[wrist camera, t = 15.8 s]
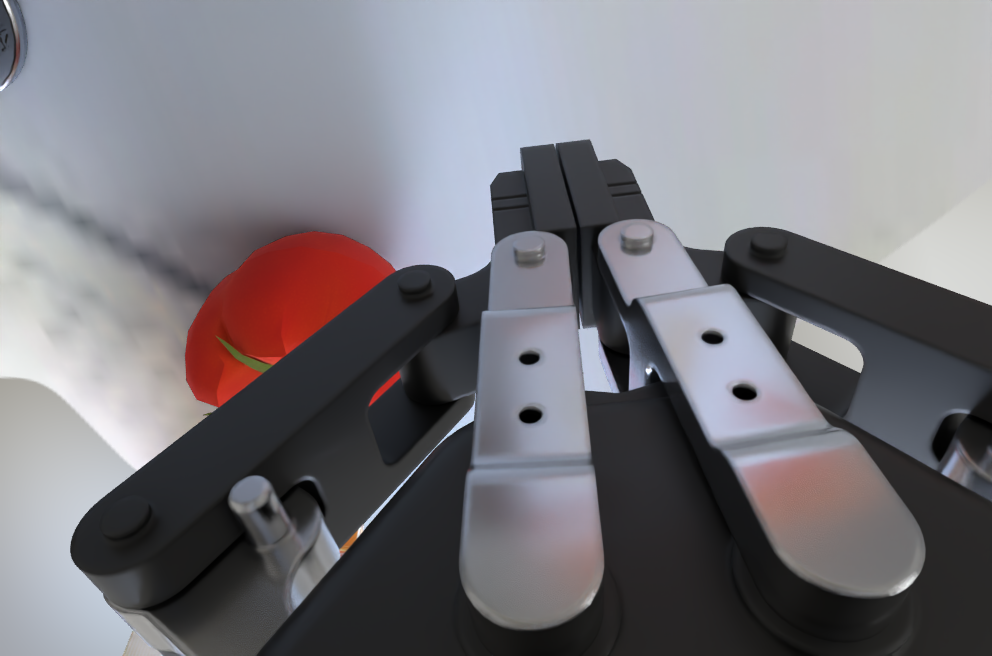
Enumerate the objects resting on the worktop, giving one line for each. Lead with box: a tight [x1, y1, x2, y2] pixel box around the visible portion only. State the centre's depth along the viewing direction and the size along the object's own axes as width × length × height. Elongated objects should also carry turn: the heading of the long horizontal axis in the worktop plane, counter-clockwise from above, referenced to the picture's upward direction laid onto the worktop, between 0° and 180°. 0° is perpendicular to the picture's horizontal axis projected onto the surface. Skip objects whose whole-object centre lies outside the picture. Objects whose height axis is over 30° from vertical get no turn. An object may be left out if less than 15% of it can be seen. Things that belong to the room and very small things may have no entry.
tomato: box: [185, 231, 400, 415], centre depth 41 cm, size 13×14×12 cm
